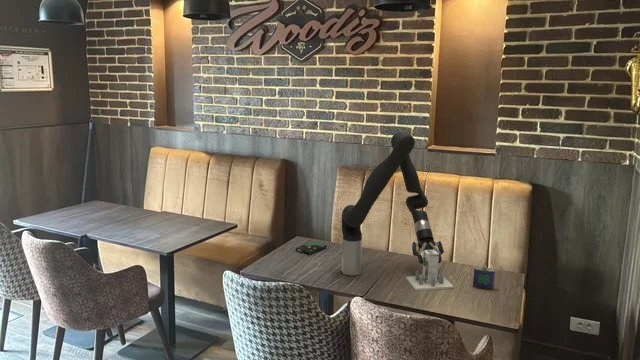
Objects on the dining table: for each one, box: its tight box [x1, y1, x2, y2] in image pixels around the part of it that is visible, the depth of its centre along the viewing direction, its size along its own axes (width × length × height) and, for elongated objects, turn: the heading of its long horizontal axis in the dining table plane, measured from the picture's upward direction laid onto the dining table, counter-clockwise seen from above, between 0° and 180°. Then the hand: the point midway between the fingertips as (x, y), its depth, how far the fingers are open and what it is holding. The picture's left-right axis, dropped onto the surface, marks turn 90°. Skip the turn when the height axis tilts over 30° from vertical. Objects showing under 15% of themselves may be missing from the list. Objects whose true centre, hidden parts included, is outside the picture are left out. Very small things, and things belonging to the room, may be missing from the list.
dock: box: [405, 268, 454, 291], centre depth 243 cm, size 18×14×6 cm
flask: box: [472, 265, 496, 291], centre depth 238 cm, size 9×3×11 cm, turn 74°
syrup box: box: [421, 250, 439, 284], centre depth 242 cm, size 6×6×14 cm
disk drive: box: [295, 241, 328, 256], centre depth 287 cm, size 10×3×15 cm
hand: (430, 262), depth 240 cm, fingers open, 8 cm apart
